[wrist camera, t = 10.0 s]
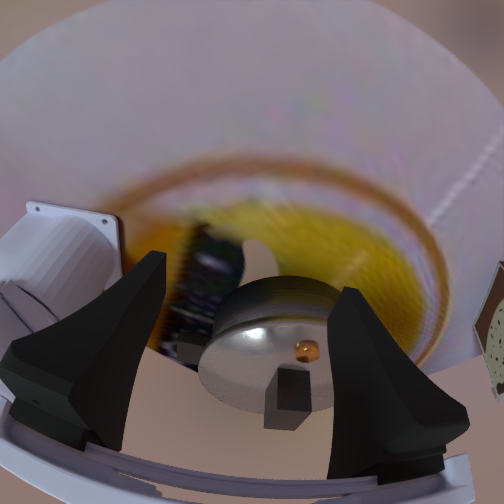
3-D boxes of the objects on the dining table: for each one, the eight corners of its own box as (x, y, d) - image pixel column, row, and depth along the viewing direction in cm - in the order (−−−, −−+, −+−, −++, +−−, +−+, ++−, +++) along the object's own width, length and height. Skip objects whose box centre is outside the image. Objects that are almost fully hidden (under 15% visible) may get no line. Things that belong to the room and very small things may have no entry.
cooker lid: (196, 394, 27) (188, 435, 23) (207, 298, 19) (194, 357, 15) (331, 410, 28) (334, 448, 24) (403, 327, 20) (419, 379, 16)
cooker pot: (185, 350, 31) (176, 390, 27) (192, 255, 23) (176, 302, 19) (344, 373, 32) (348, 410, 28) (400, 294, 24) (417, 337, 20)
